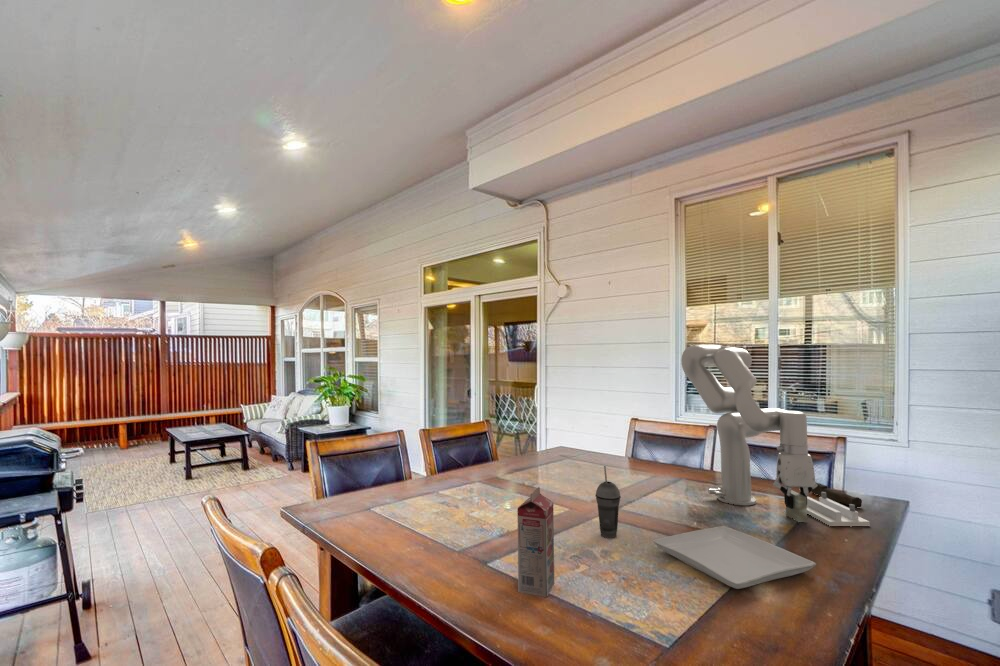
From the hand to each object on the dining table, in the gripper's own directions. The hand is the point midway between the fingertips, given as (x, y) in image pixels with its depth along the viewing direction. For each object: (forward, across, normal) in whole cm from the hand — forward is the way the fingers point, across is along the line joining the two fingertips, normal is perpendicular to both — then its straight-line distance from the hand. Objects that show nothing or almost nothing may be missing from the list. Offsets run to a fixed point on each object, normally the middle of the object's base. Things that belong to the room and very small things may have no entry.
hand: (795, 506), depth 153 cm
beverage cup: (+4, -63, -14) cm, 65 cm away
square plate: (+4, -36, -32) cm, 48 cm away
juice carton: (+4, -86, -45) cm, 97 cm away
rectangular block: (+4, 0, 0) cm, 4 cm away
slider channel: (+4, +12, +2) cm, 13 cm away
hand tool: (+4, +24, +19) cm, 31 cm away
